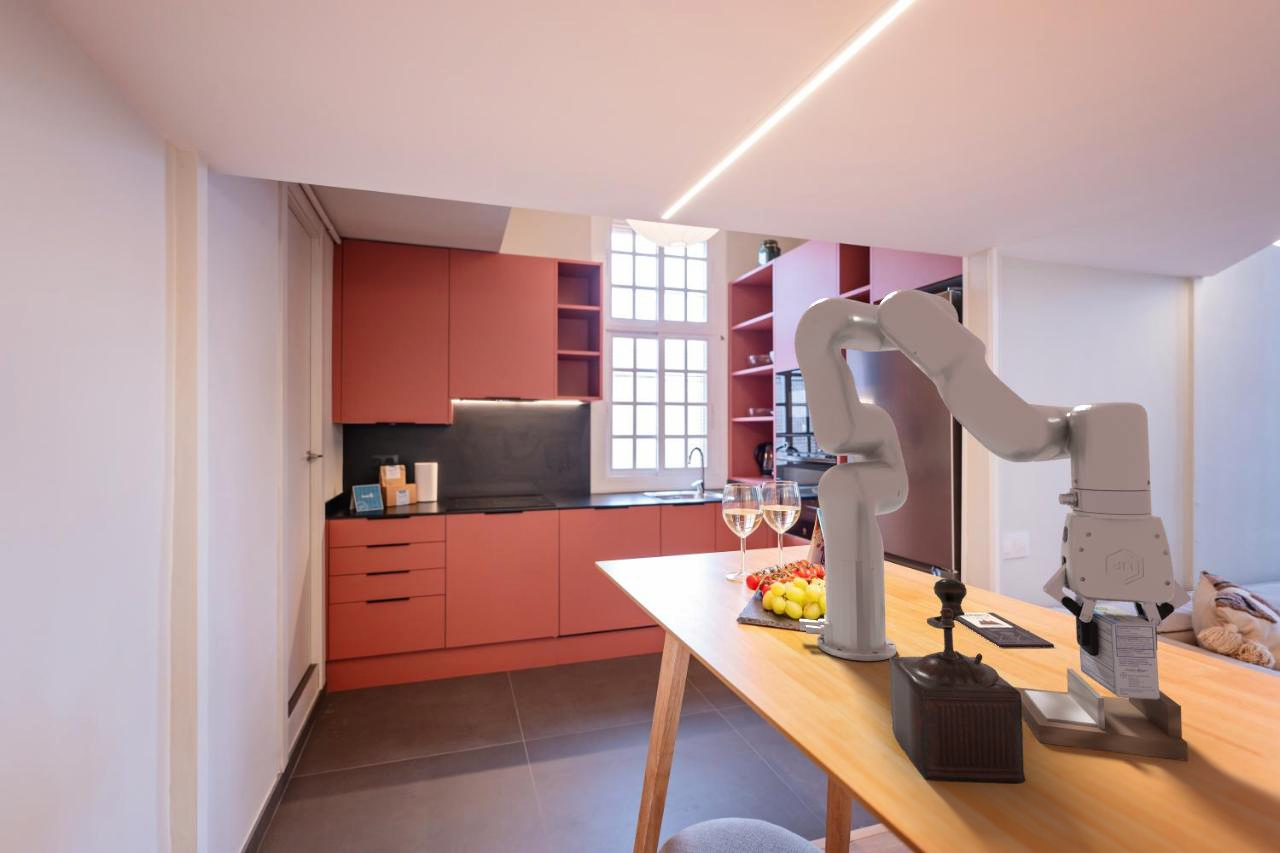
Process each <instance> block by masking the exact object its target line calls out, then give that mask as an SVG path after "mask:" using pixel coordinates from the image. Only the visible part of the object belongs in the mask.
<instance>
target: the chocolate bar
mask: <svg viewBox="0 0 1280 853" xmlns="http://www.w3.org/2000/svg"><path fill="white" fill-rule="evenodd" d="M964 613H965V615H963V616H958V618H957V619H955V622H957V621H958V623H959V622H960V623H961V624H960V623H959V624H960V625H962V624H963V625H962V626H964V625H965V626H966V628H967V627H968V628H967V629H969V628H970V629H971V630H970V629H969V630H970V631H972V630H973V631H972V632H973V633H975V632H976V633H975V634H977V635H978V634H979V635H978V636H980V635H981V636H980V637H982V638H983V637H984V638H983V639H985V640H987V641H988V640H989V641H988V642H990V643H991V642H992V643H991V644H993V643H994V644H993V645H995V644H996V645H997V646H996V645H995V646H996V647H998V646H999V647H998V648H1000V647H1040V648H1043V647H1046V648H1047V647H1054V648H1055V644H1054V643H1052V642H1051V641H1048V640H1046V639H1044V638H1042V637H1041V636H1038V635H1037V634H1035V633H1034V632H1031V631H1029V630H1028V629H1025V628H1023V627H1021V626H1020V625H1017V624H1016V623H1014V622H1012V621H1009V620H1008V619H1006V618H1004V617H1002V616H1000V615H999V614H997V613H994V612H964ZM965 626H964V627H965ZM1040 648H1039V649H1040ZM1047 649H1048V648H1047Z"/></svg>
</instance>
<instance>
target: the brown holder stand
mask: <svg viewBox="0 0 1280 853" xmlns="http://www.w3.org/2000/svg"><path fill="white" fill-rule="evenodd" d="M1066 678H1067V679H1066V680H1067V681H1066V683H1067V685H1066V686H1067V691H1066V692H1065V691H1058V690H1056V691H1055V690H1046V689H1039V688H1037V689H1036V688H1027V687H1017V686H1013V687H1014V688H1015V689H1016V690H1018V691H1019V692H1020V695H1021V700H1022V720H1023V721H1024V722H1025V724H1026V725H1027V726H1028V728H1029V729H1030V730H1031V733H1032V734H1033V735H1034V736H1035V737H1036V739H1037V741H1038V742H1039V743H1042V744H1051V745H1057V746H1065V747H1067V746H1068V747H1075V748H1084V749H1090V750H1097V751H1106V752H1107V751H1108V752H1113V753H1114V752H1115V753H1121V754H1122V753H1123V754H1131V755H1139V756H1146V757H1154V758H1161V759H1163V758H1164V759H1169V760H1177V761H1185V762H1188V761H1189V755H1188V754H1189V753H1188V752H1189V750H1188V742H1187V741H1186V740H1185V739H1184V738H1183V731H1182V730H1183V727H1182V705H1180V704H1179V703H1177V702H1176V701H1175V700H1174V699H1172V698H1171V697H1170V696H1168V695H1166V694H1165V693H1164V692H1163V691H1161V689H1159V695H1160V698H1159V699H1157V700H1153V699H1135V698H1122V697H1117V696H1115V697H1114V696H1106V695H1101V694H1100V693H1099V692H1098V691H1097V690H1095V688H1093V687H1092V686H1091V685H1090V684H1089V683H1088V682H1087V681H1086V680H1085V679H1084V678H1083V677H1082V676H1081V675H1080V674H1078V673H1077V671H1075V670H1074V669H1073V668H1066Z"/></svg>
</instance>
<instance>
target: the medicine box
mask: <svg viewBox="0 0 1280 853" xmlns="http://www.w3.org/2000/svg"><path fill="white" fill-rule="evenodd" d="M1092 617H1093V622H1095V623H1096V624H1097V627H1098V655H1097V656H1091V655H1089V654H1088V653H1087V652H1086V651H1084V650H1083V649H1082V647H1081V646H1080V645H1079V659H1080V660H1079V662H1080V671H1081V672H1082V673H1083V674H1084V675H1086V676H1088V677H1089V678H1090V679H1092V680H1093V681H1095V682H1096V683H1097V684H1099V685H1100V686H1102V687H1104V689H1105V690H1108V691H1109V692H1110V693H1112V694H1113V695H1115V697H1117V698H1127V699H1129V698H1135V699H1153V700H1157V699H1159V698H1160V695H1159V690H1160V683H1159V667H1158V666H1159V665H1158V646H1157V647H1156V631H1155V625H1153V624H1152V623H1150V622H1148V621H1146V620H1144V619H1142V618H1140V617H1138V615H1136V614H1133V613H1131V612H1128V611H1126V610H1124V609H1122V608H1119V607H1117V606H1114V605H1100V604H1096V606H1095V609H1094V613H1093V616H1092Z"/></svg>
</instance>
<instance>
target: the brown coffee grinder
mask: <svg viewBox="0 0 1280 853" xmlns="http://www.w3.org/2000/svg"><path fill="white" fill-rule="evenodd" d="M933 590H934V591H933V592H934V594H935V595H936V597H937V598H938V599H939V600H940V602H941V604H942V605H941V610H940V611H939V613H940V615H939V616H934V617H932V616H931V617H927V619H926V623H927V624H928V625H929V626H930V627H933V628H935V629H940V630H943V644H944V649H943V651H937V652H933V653H929V654H926V655H924V656H893V657H890V658H889V684H890V685H889V686H890V688H889V689H890V706H891V708H890V710H891V720H892V722H891V723H892V727H891V729H892V733H893V734H894V738H895V740H896V742H897V744H898V745H899V746H900V748H901V749H902V751H903V752H904V753H905V755H906V756H907V758H908V759H909V761H910V762H911V763H912V765H913V766H914V767H915V768H916V769H917V771H918V772H919V773H920V775H921V776H922V777H923V779H924V780H930V781H931V780H932V781H941V782H961V783H962V782H963V783H964V782H966V783H968V782H969V783H993V784H994V783H995V784H996V783H997V784H1000V783H1001V784H1002V783H1003V784H1021V783H1024V782H1026V777H1025V771H1024V769H1025V768H1024V744H1023V743H1024V738H1023V734H1024V733H1023V731H1024V730H1023V718H1022V700H1021V695H1020V692H1019V691H1018V690H1016V689H1015V688H1014V687H1015V686H1013V685H1012V684H1010V683H1009V682H1008V681H1007V680H1005V679H1004V678H1003V677H1002V676H1000V675H999V673H998V672H997V670H996V669H995V668H994V667H992V666H991V665H989V664H986V663H983V662H982V659H983V655H982V654H981V653H977V654H976V656H967V655H965V654H964V653H963V654H962V653H961V652H959V651H958V650H954V640H953V639H954V638H953V635H954V634H953V629H955V627H956V624H955V622H956V620H955V619H957V618H958V616H963V615H965V613H966V612H964V610H963V608H962V602H963V600H964V598H965V597H966V596H967V594H968V593H967V592H968V589H967V588H966V585H965V583H963V582H962V581H960V580H959V579H957V578H941V579H940V580H937V581H936V582H934V586H933Z"/></svg>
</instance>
